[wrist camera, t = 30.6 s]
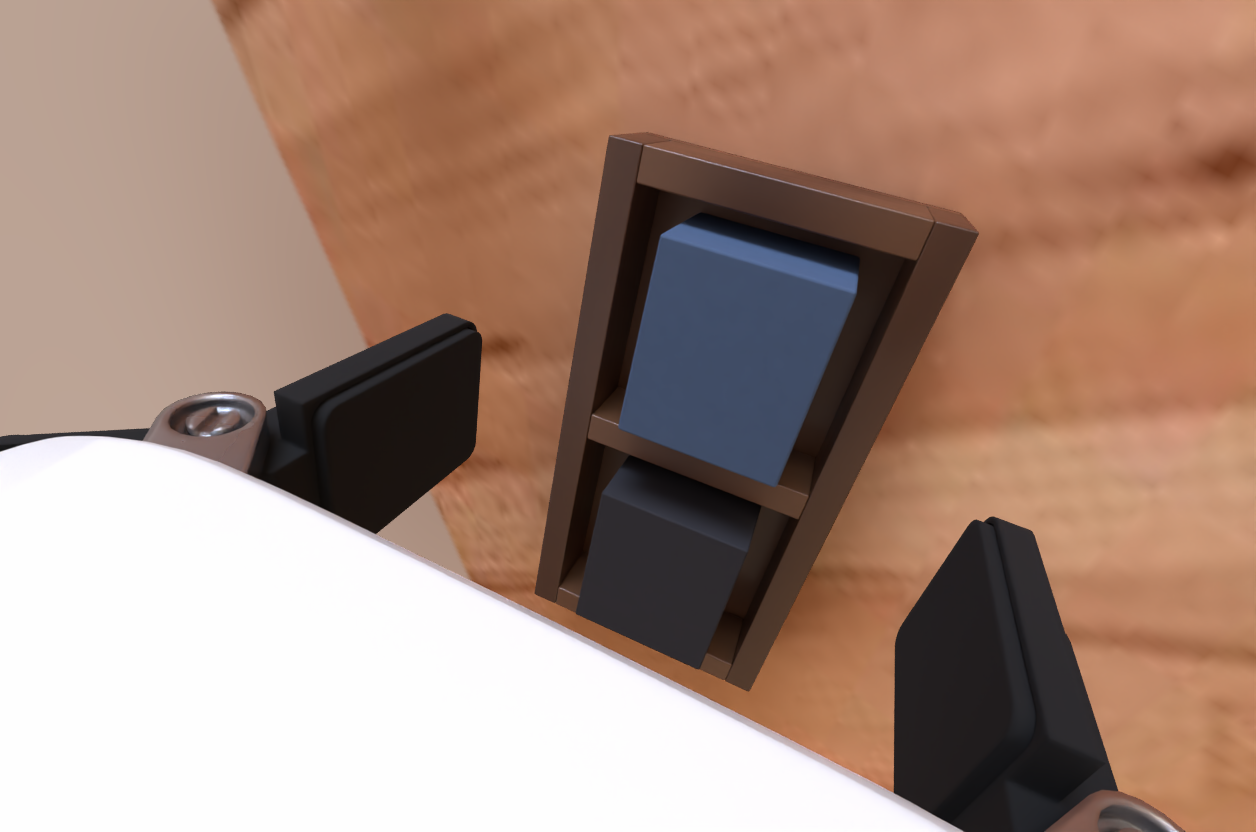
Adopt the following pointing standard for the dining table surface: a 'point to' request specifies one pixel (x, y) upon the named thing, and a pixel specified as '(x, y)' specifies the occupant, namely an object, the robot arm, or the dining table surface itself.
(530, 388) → the dining table surface
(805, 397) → the blue rectangular block
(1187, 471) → the dining table surface
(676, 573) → the dark grey rectangular block
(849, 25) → the dining table surface
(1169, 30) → the dining table surface
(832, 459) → the brown divided wooden tray
